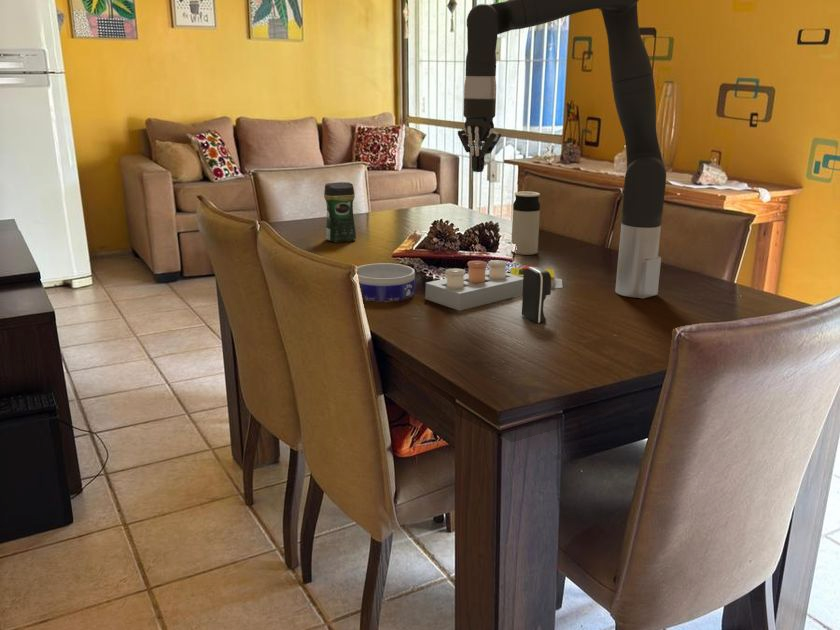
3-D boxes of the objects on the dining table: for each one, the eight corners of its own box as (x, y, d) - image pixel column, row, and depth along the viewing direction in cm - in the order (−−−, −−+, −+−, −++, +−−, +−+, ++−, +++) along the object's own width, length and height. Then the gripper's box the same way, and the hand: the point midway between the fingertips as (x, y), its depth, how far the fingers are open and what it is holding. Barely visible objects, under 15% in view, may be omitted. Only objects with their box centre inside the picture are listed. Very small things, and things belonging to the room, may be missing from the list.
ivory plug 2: (509, 290, 188) (511, 262, 186) (496, 293, 185) (497, 265, 183) (496, 286, 191) (497, 259, 189) (483, 289, 188) (484, 262, 186)
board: (525, 294, 186) (526, 278, 185) (459, 310, 173) (459, 293, 172) (491, 284, 195) (491, 269, 194) (425, 298, 182) (425, 282, 181)
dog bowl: (401, 306, 177) (401, 280, 175) (341, 299, 182) (340, 274, 180) (423, 289, 190) (423, 266, 189) (367, 283, 195) (367, 260, 194)
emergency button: (505, 262, 202) (562, 264, 199) (504, 278, 203) (561, 281, 201) (503, 270, 193) (563, 273, 191) (502, 287, 194) (562, 290, 192)
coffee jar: (352, 237, 251) (351, 180, 245) (358, 241, 243) (357, 183, 238) (323, 238, 248) (321, 181, 242) (328, 243, 240) (326, 184, 235)
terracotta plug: (489, 291, 183) (490, 263, 181) (476, 294, 181) (476, 266, 178) (476, 287, 187) (477, 259, 185) (462, 290, 184) (463, 262, 182)
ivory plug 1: (468, 300, 179) (469, 271, 177) (454, 303, 177) (454, 274, 174) (455, 295, 183) (456, 267, 181) (441, 299, 180) (441, 270, 178)
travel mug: (525, 256, 225) (528, 196, 220) (505, 252, 231) (508, 192, 226) (542, 253, 230) (546, 193, 225) (523, 248, 236) (525, 190, 231)
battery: (551, 322, 165) (554, 271, 162) (535, 324, 164) (538, 273, 160) (535, 313, 171) (538, 264, 168) (520, 315, 170) (523, 265, 166)
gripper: (511, 97, 175) (508, 173, 180) (472, 95, 185) (470, 168, 190) (488, 97, 170) (485, 175, 176) (449, 96, 180) (447, 170, 185)
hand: (477, 171), depth 183 cm, fingers closed
